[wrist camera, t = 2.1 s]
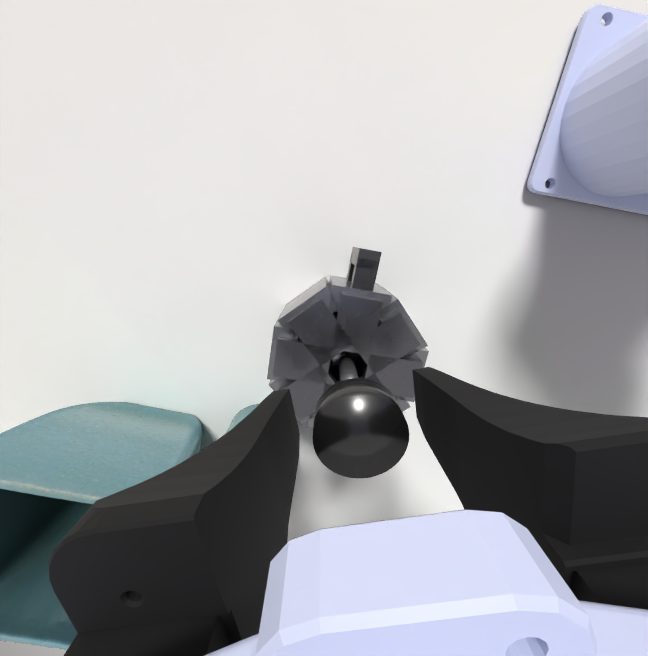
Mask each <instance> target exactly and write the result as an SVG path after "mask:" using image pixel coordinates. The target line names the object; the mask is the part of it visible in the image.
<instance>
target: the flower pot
mask: <svg viewBox="0 0 648 656" xmlns="http://www.w3.org/2000/svg"><path fill="white" fill-rule="evenodd" d="M201 439H202V426H201V423H200V421H199V419H198V418H197V417H196V416H194V415H191V414H186V413H180V412H175V411H169V410H164V409H159V408H153V407H148V406H143V405H139V404H134V403H128V402H98V403H89V404H81V405H75V406H71V407H67V408H63V409H59V410H56V411H53V412H50V413H47V414H45V415H42V416H40V417H37V418H35V419H32V420H30V421H28V422H25V423H23V424H21V425H19V426H16V427H14V428H12V429H10V430H7V431H5V432H3V433H1V434H0V641H5V642H6V641H10V642H16V643H24V644H31V645H37V646H44V647H51V648H59V649H64V650H68V648H69V646H70V645H71V643H72V642H73V640H74V638H75V637H76V635H77V634H78V633H77V631H76V629H75V628H74V626H73V624H72V622H71V621H70V619H69V617H68V615H67V614H66V612H65V610H64V608H63V607H62V605H61V603H60V601H59V600H58V598H57V596H56V594H55V593H54V590H53V588H52V585H51V582H50V580H49V560H50V558H51V555H52V553H53V550H54V549H55V548H56V547H57V546H58V544H59V543H60V542H61V541H62V540H63V539H64V537H65V536H66V535H67V534H68V533H69V532H70V530H71V529H72V528H73V527H74V526H75V525H76V523H77V522H78V521H79V520H80V519H81V518H82V517H83V515H84V514H85V513H86V512H87V511H88V510H89V508H90V507H91V506H92V505H93V504H94V503H95V501H97V500H99V499H102V498H104V497H107V496H109V495H112V494H114V493H117V492H119V491H122V490H124V489H127V488H129V487H132V486H134V485H137V484H139V483H141V482H143V481H146V480H148V479H150V478H152V477H154V476H156V475H158V474H160V473H162V472H164V471H166V470H168V469H170V468H172V467H174V466H176V465H178V464H180V463H181V462H183V461H185V460H187V459H188V458H190V457H192V456H193V455H195V454H197V453H198V452H200V446H201Z"/></svg>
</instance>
